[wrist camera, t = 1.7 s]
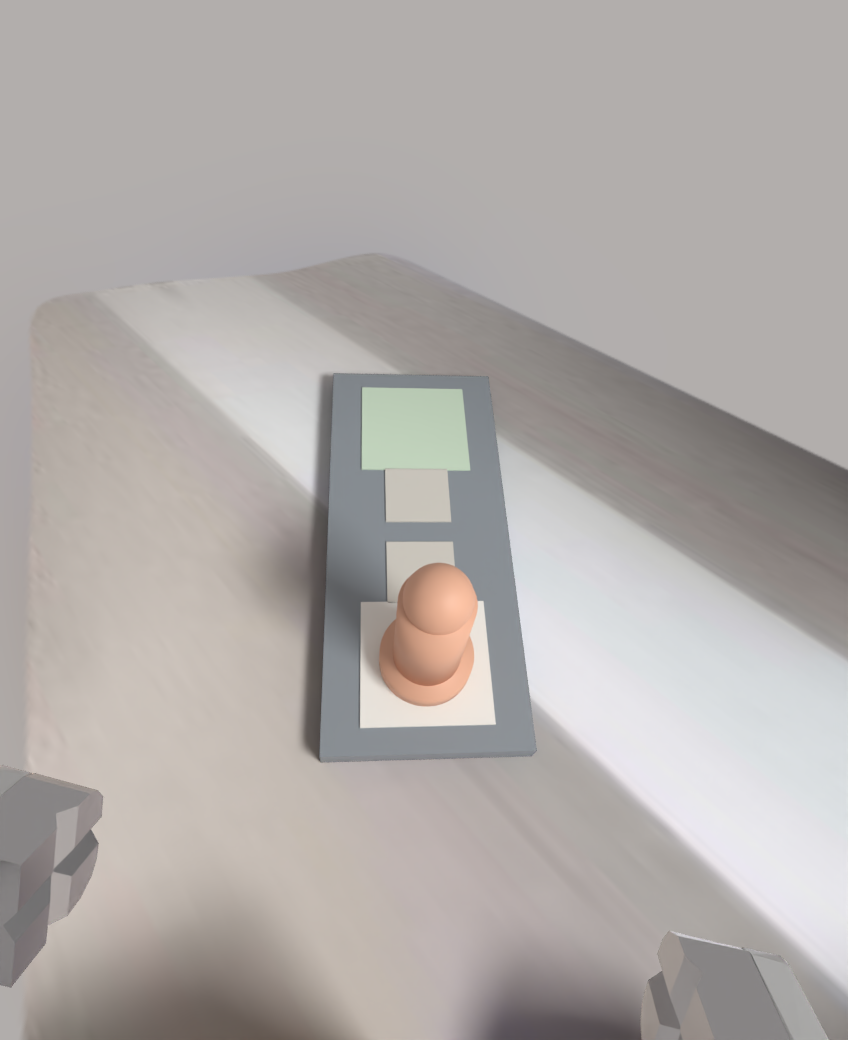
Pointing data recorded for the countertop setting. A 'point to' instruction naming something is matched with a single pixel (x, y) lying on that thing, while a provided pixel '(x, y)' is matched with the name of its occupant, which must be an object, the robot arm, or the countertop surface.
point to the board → (417, 567)
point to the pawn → (430, 636)
